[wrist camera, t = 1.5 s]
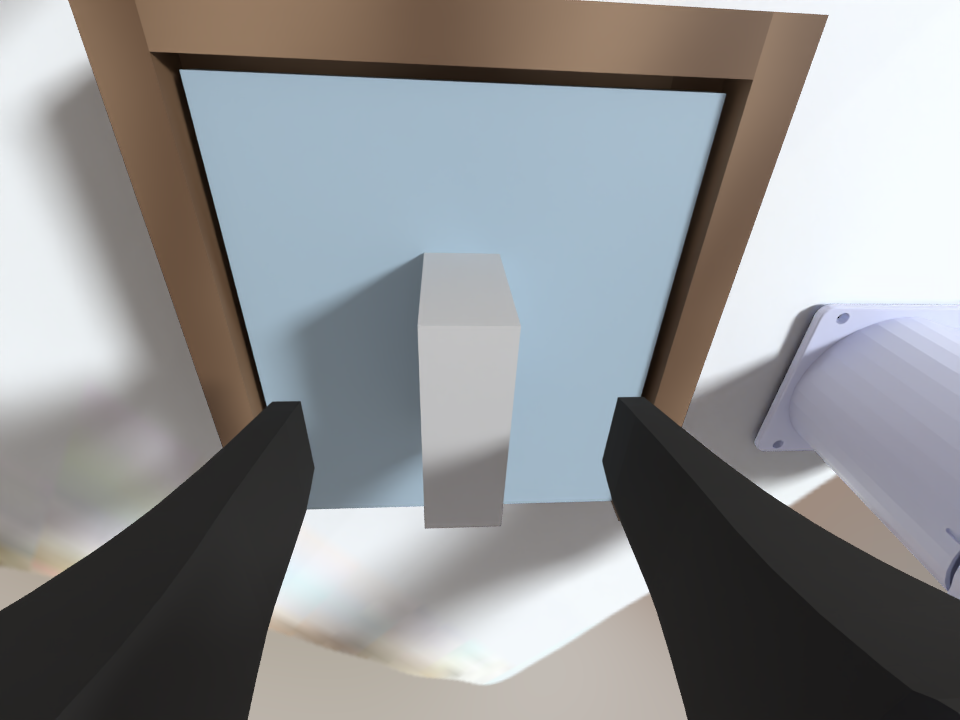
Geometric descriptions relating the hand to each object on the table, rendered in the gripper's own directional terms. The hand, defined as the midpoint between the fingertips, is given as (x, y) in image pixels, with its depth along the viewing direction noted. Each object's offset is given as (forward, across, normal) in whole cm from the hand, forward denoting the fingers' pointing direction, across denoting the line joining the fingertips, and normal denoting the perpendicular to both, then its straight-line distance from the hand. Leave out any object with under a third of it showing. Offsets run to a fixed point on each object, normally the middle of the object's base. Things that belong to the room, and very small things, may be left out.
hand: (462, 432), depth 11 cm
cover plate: (+4, 0, 0) cm, 5 cm away
